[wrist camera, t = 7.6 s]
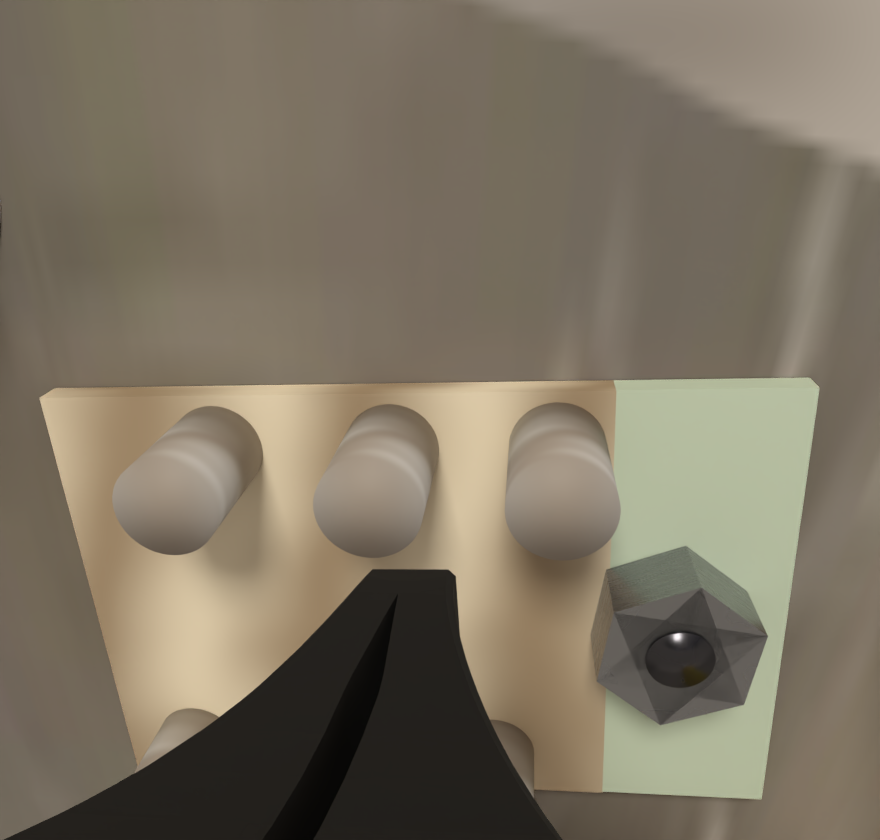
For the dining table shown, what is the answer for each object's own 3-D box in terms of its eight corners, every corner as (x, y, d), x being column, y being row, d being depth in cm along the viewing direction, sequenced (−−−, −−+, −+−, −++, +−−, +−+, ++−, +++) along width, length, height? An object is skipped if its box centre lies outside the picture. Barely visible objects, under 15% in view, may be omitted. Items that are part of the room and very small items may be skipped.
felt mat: (809, 377, 20) (819, 387, 19) (755, 780, 25) (761, 799, 25) (612, 380, 21) (616, 389, 20) (600, 773, 26) (602, 791, 25)
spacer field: (612, 380, 21) (632, 446, 17) (600, 773, 26) (612, 894, 22) (55, 388, 23) (-46, 449, 19) (149, 752, 28) (86, 860, 24)
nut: (727, 533, 21) (748, 576, 19) (765, 645, 23) (788, 695, 21) (567, 581, 22) (571, 625, 20) (612, 685, 24) (620, 736, 22)
